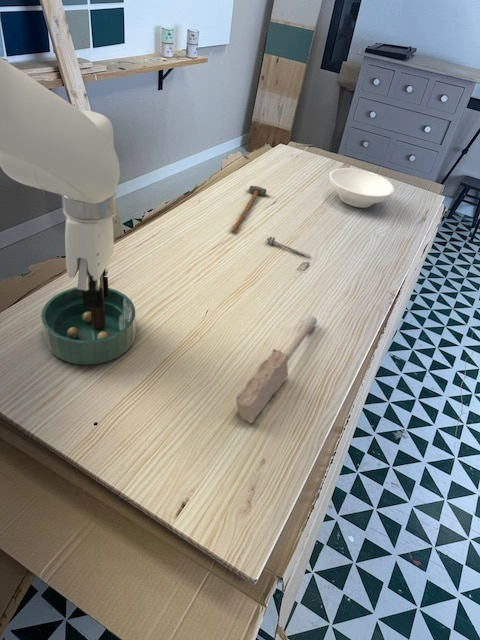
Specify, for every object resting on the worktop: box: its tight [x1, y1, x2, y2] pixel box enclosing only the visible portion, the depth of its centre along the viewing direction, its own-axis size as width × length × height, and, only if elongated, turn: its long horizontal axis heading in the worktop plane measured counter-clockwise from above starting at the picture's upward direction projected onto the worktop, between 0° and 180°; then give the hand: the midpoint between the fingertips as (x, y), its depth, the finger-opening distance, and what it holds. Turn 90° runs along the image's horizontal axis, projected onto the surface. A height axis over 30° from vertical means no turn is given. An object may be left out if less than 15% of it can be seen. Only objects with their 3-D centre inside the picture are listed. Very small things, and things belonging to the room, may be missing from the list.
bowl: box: [329, 167, 395, 209], centre depth 141 cm, size 20×20×7 cm
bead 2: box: [82, 311, 91, 322], centre depth 84 cm, size 2×2×2 cm
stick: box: [88, 273, 106, 329], centre depth 80 cm, size 2×2×11 cm
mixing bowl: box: [40, 286, 137, 365], centre depth 81 cm, size 15×15×6 cm
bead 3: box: [97, 331, 109, 339], centre depth 81 cm, size 2×2×2 cm
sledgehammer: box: [231, 185, 267, 234], centre depth 128 cm, size 27×2×5 cm
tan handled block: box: [235, 315, 318, 424], centre depth 82 cm, size 8×4×30 cm
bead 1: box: [67, 327, 79, 339], centre depth 81 cm, size 2×2×2 cm
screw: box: [266, 236, 309, 258], centre depth 115 cm, size 2×11×2 cm
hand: (96, 299), depth 80 cm, fingers closed on stick, 2 cm apart
